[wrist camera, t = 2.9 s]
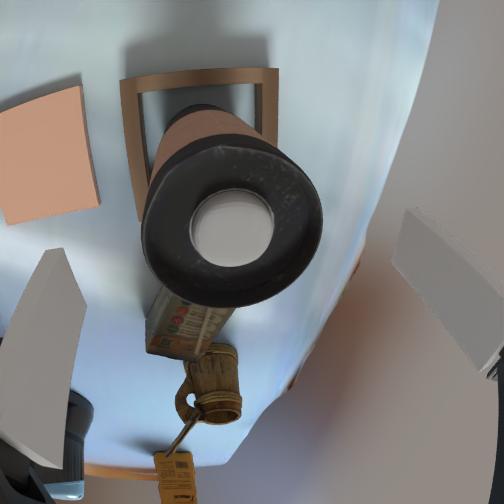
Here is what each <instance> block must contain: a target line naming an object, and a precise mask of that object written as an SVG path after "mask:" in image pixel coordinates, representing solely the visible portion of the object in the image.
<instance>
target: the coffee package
mask: <svg viewBox="0 0 504 504" xmlns="http://www.w3.org/2000/svg"><path fill="white" fill-rule="evenodd" d="M165 453H166V452H157V453H155V456H154V463H155V467H156V471H157V474H158V479H159V486H158V489H159V493H160V498H161V502H162V503H161V504H197V498H196V487H195V470H194V463H193V456H192V454H191V453H190V452H185V453H177V452H174V454H173V455H172V456H171V457H169V458H166V457H165Z"/></svg>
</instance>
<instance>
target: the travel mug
mask: <svg viewBox="0 0 504 504" xmlns="http://www.w3.org/2000/svg"><path fill="white" fill-rule="evenodd" d="M322 227H323V214H322V207H321V202H320V199H319V196H318V194H317V191H316V189H315V187H314V185H313V184H312V182H311V180H310V179H309V178H308V176H307V175H306V174H305V173H304V171H303V170H302V169H301V168H300V167H299V166H298V165H297V164H295V163H294V162H293V161H292V160H291V159H290V158H288V157H287V156H286V155H285V154H284V153H282V152H281V151H280V150H279V149H278V148H276V147H275V146H274V145H273V144H271V143H270V142H269V141H268V140H267V139H265V138H264V137H263V136H262V135H260V134H259V133H258V132H256V131H255V130H254V129H253V128H251V127H250V126H249V125H247V124H246V123H245V122H244V121H242V120H241V119H240V118H238V117H236V116H234V115H233V114H231V113H229V112H227V111H225V110H223V109H220V108H218V107H216V106H212V105H207V104H198V105H193V106H189V107H187V108H185V109H183V110H182V111H180V112H179V113H178V114H177V115H176V116H175V117H174V118H173V119H172V120H171V122H170V123H169V125H168V127H167V129H166V131H165V133H164V135H163V137H162V139H161V142H160V144H159V147H158V151H157V154H156V158H155V162H154V167H153V171H152V175H151V179H150V184H149V188H148V193H147V197H146V202H145V207H144V212H143V218H142V224H141V241H142V248H143V253H144V256H145V259H146V262H147V264H148V266H149V268H150V270H151V272H152V273H153V274H154V276H155V277H156V279H157V280H158V281H159V282H160V283H161V284H162V285H163V287H165V288H166V289H167V290H168V291H169V292H171V293H172V294H174V295H175V296H177V297H178V298H180V299H182V300H184V301H186V302H189V303H191V304H195V305H198V306H202V307H207V308H215V309H232V308H240V307H245V306H250V305H253V304H256V303H259V302H262V301H264V300H267V299H269V298H271V297H273V296H275V295H276V294H278V293H280V292H281V291H283V290H284V289H286V288H287V287H288V286H289V285H291V284H292V283H293V282H294V281H295V280H296V279H297V278H298V277H299V276H300V275H301V274H302V273H303V272H304V270H305V269H306V268H307V267H308V265H309V264H310V262H311V260H312V259H313V257H314V255H315V253H316V251H317V248H318V245H319V242H320V239H321V234H322Z"/></svg>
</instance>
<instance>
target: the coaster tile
mask: <svg viewBox="0 0 504 504" xmlns="http://www.w3.org/2000/svg"><path fill="white" fill-rule="evenodd" d="M100 204H101V201H100V196H99V192H98V187H97V183H96V178H95V173H94V167H93V162H92V156H91V151H90V144H89V138H88V131H87V124H86V116H85V108H84V98H83V87H82V85H79V86H75V87H72V88H68V89H65V90H61V91H58V92H55V93H52V94H49V95H46V96H43V97H40V98H37V99H34V100H32V101H29V102H26V103H24V104H21V105H18V106H16V107H13V108H11V109H9V110H6V111H4V112H2V113H0V205H1V208H2V211H3V214H4V217H5V220H6V223H7V226H9V225H13V224H17V223H22V222H26V221H30V220H35V219H39V218H44V217H49V216H53V215H58V214H63V213H68V212H73V211H78V210H84V209H89V208H95V207H99V206H100Z"/></svg>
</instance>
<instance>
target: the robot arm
mask: <svg viewBox="0 0 504 504" xmlns="http://www.w3.org/2000/svg"><path fill="white" fill-rule="evenodd" d="M391 264H392V265H393V266H394V267H395V268H396V269H397V270H398V271H399V273H400V274H401V275H402V276H403V277H404V278H405V279H406V280H407V281H408V283H409V284H410V285H411V286H412V287H413V289H415V291H416V292H417V293H418V295H419V296H420V297H421V298H422V299H423V300H424V302H425V303H426V304H427V305H428V307H429V308H430V309H431V310H432V311H433V313H434V314H435V315H436V316H437V318H438V319H439V320H440V321H441V323H442V324H443V325H444V326H445V328H446V329H447V330H448V332H449V333H450V334H451V336H452V337H453V338H454V340H455V341H456V342H457V343H458V345H459V346H460V348H461V349H462V350H463V352H464V353H465V354H466V356H467V357H468V359H469V360H470V361H471V363H472V364H473V366H474V367H475V369H476V370H477V371H478V372H480V371H482V370H483V369H484V368H486V367H487V366H489V365H490V364H491V362H492V361H493V360H494V358H495V357H496V356H497V355H498V354H499V355H500V356H501V358H500V359H499V360H498V361H497V363H496V364H495V365H494V366H493V367H492V369H491V370H490V371H489V372H488V374H487V379H489V378H490V377H491V376H492V375H493V374H494V373H495V372H496V371H497V373H496V374H495V375H494V376H493V377H492V380H494V381H498V393H499V394H498V395H499V418H498V419H499V420H498V440H497V452H496V462H495V470H494V477H493V483H492V489H491V494H490V499H489V504H504V283H503V281H501V279H500V278H498V276H497V275H495V273H493V272H492V271H491V270H490V269H489V268H488V267H487V266H486V265H485V264H484V263H483V262H482V261H481V260H480V259H479V258H478V257H476V256H475V255H474V254H473V253H472V252H471V251H470V250H469V249H468V248H467V247H465V246H464V245H463V244H462V243H461V242H460V241H458V240H457V239H456V238H455V237H454V236H453V235H451V234H450V233H449V232H448V231H447V230H445V229H444V228H443V227H442V226H441V225H439V224H438V223H437V222H436V221H434V220H433V219H432V218H431V217H429V216H428V215H427V214H425V213H424V212H423V211H422V210H420V209H419V208H408V209H405V213H404V217H403V221H402V225H401V229H400V232H399V236H398V239H397V243H396V247H395V250H394V253H393V257H392V260H391ZM86 308H87V305H86V302H85V300H84V298H83V296H82V294H81V291H80V289H79V287H78V284H77V282H76V280H75V277H74V275H73V272H72V270H71V267H70V265H69V262H68V260H67V257H66V254H65V252H64V249H63V248H57V249H51V250H46V251H45V252H44V254H43V256H42V258H41V260H40V261H39V263H38V265H37V267H36V269H35V271H34V272H33V274H32V276H31V278H30V280H29V282H28V284H27V286H26V288H25V290H24V292H23V294H22V296H21V299H20V301H19V303H18V305H17V307H16V309H15V312H14V314H13V316H12V319H11V321H10V323H9V326H8V328H7V331H6V333H5V336H4V338H0V504H56V503H55V502H54V500H53V499H52V498H56V499H63V500H80V499H81V498H82V497H83V495H84V483H85V480H84V439H85V437H86V434H87V432H88V430H89V427H90V425H91V423H92V421H93V413H94V409H93V406H92V405H91V404H90V403H89V402H88V401H87V400H86V399H85V398H83V397H82V396H80V395H78V394H76V393H74V392H72V391H70V385H71V378H72V372H73V367H74V361H75V356H76V351H77V346H78V342H79V337H80V333H81V328H82V324H83V320H84V316H85V312H86Z"/></svg>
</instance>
